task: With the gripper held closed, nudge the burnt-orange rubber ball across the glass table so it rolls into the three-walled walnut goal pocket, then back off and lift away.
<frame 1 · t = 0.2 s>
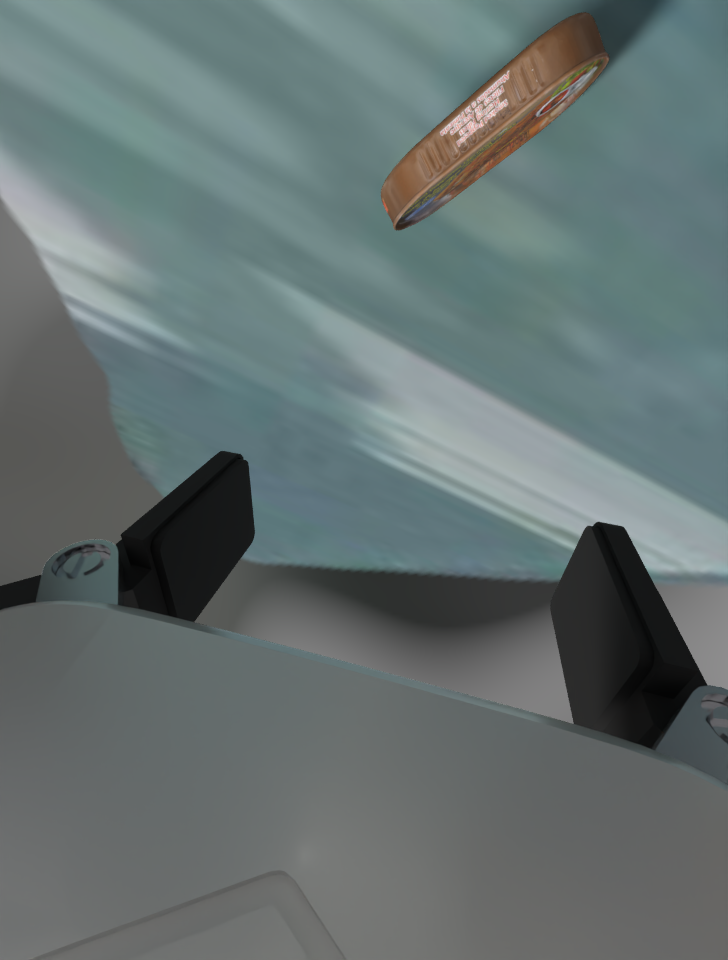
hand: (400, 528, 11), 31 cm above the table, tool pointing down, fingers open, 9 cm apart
tin: (479, 150, 30), on the table
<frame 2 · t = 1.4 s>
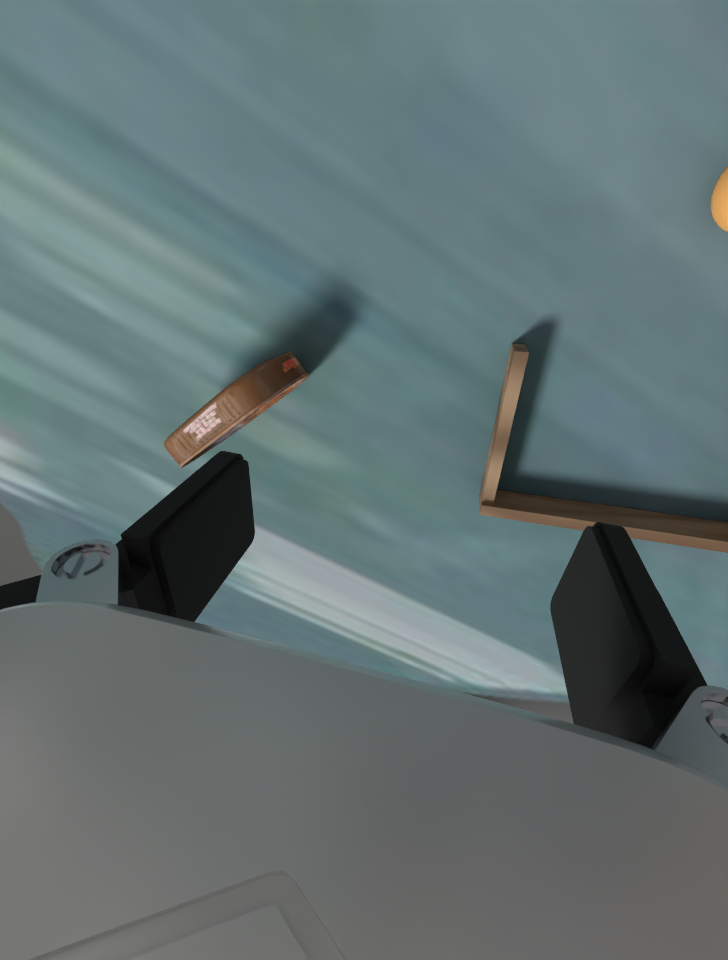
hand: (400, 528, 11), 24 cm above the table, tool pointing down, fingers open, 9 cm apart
goal pocket: (635, 444, 32), on the table
tin: (257, 395, 38), on the table
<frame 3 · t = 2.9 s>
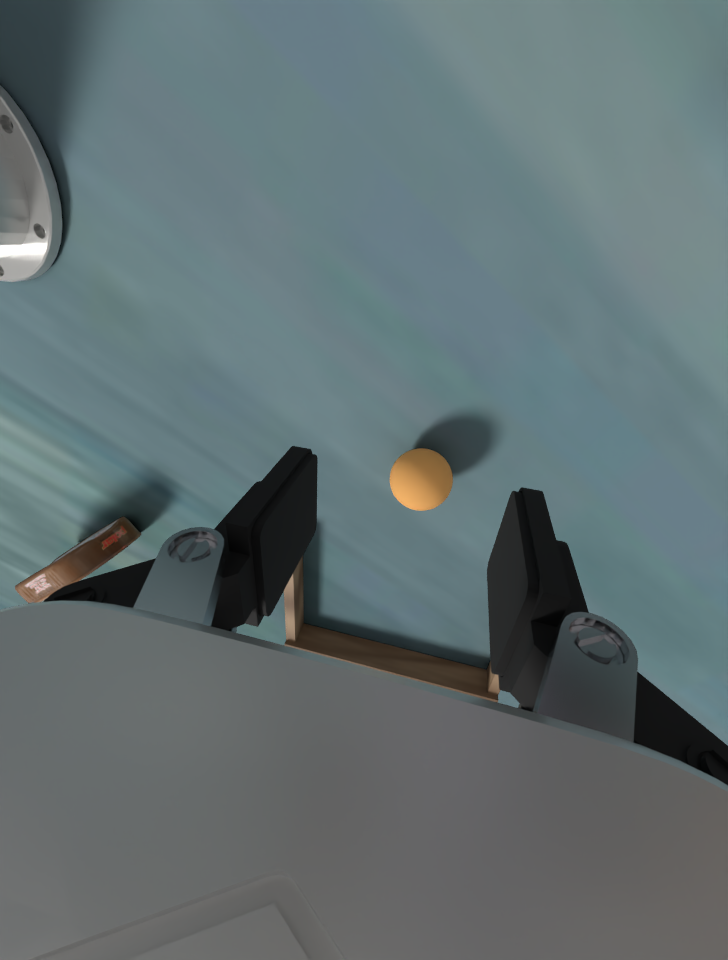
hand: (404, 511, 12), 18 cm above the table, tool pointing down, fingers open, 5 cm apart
goal pocket: (398, 608, 39), on the table
tin: (110, 534, 45), on the table
ball: (420, 479, 29), point 2 cm above the table
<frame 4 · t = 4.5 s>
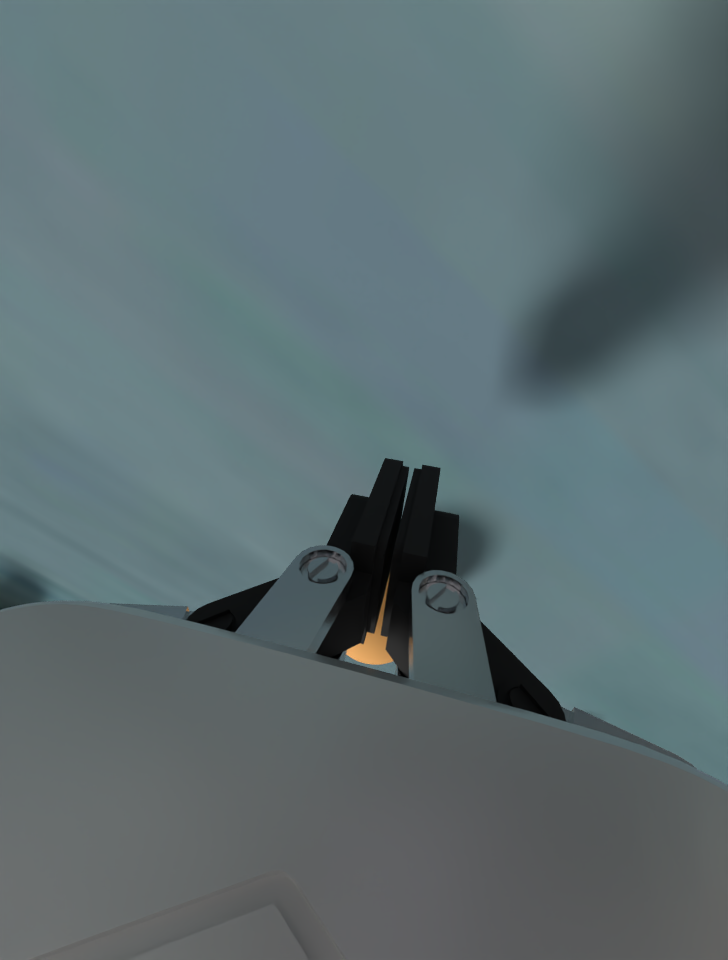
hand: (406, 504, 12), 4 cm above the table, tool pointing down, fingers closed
ball: (375, 610, 18), point 2 cm above the table
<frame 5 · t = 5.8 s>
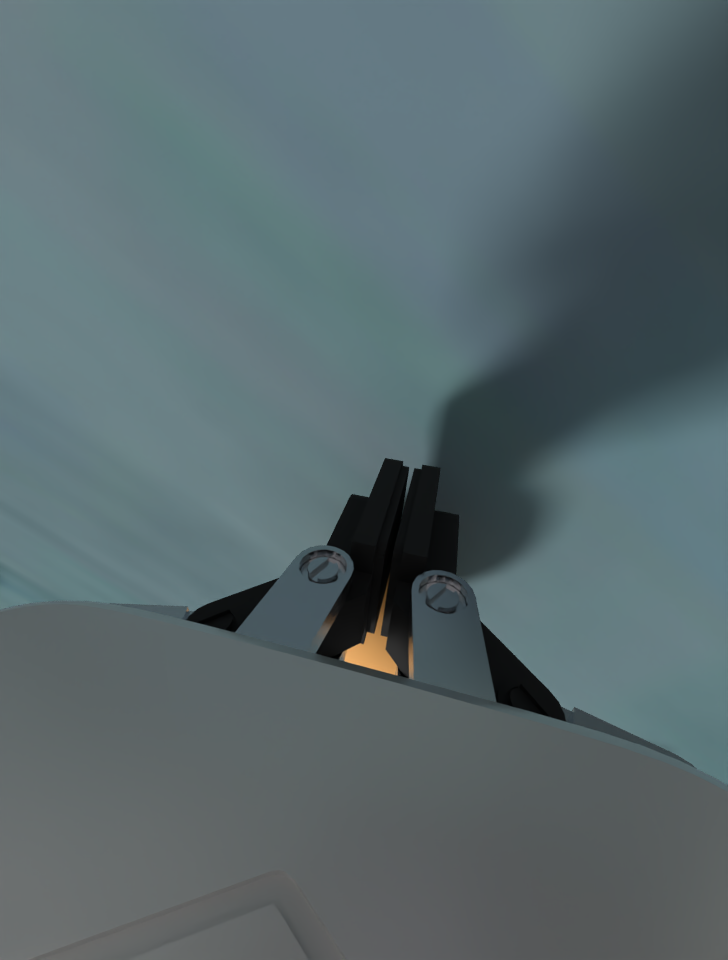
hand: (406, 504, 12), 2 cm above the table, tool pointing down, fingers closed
ball: (385, 603, 14), point 2 cm above the table, touching gripper
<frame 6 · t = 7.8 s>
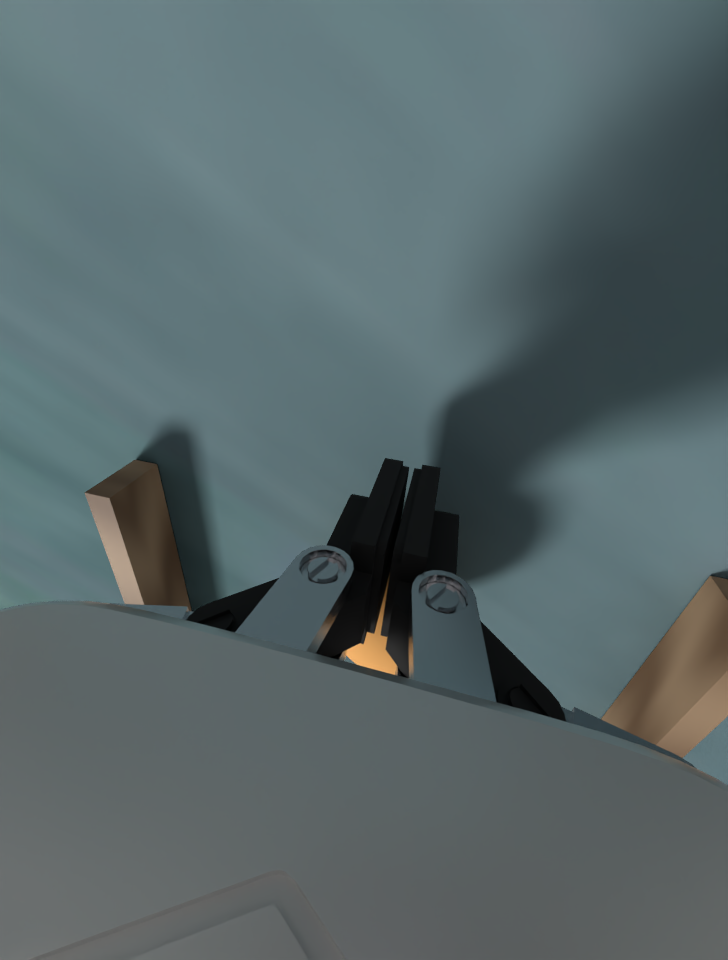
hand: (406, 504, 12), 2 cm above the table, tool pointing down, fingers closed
goal pocket: (383, 636, 18), on the table
ball: (392, 603, 14), point 2 cm above the table, tilted 109°, touching gripper
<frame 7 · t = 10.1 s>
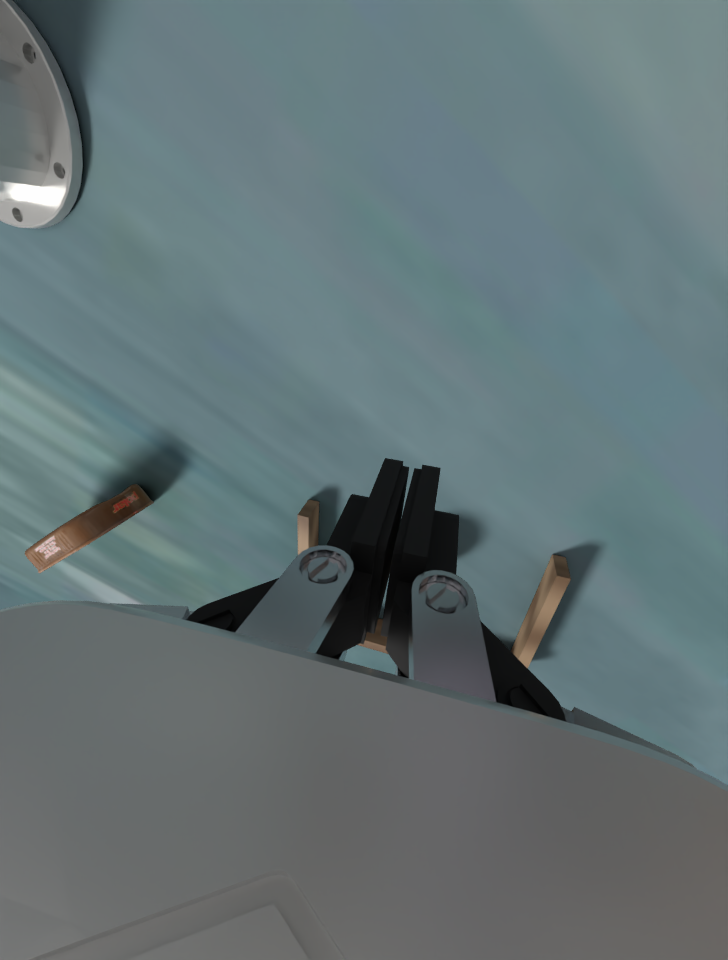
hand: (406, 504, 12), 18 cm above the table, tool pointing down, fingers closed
goal pocket: (417, 584, 38), on the table
tin: (122, 504, 44), on the table
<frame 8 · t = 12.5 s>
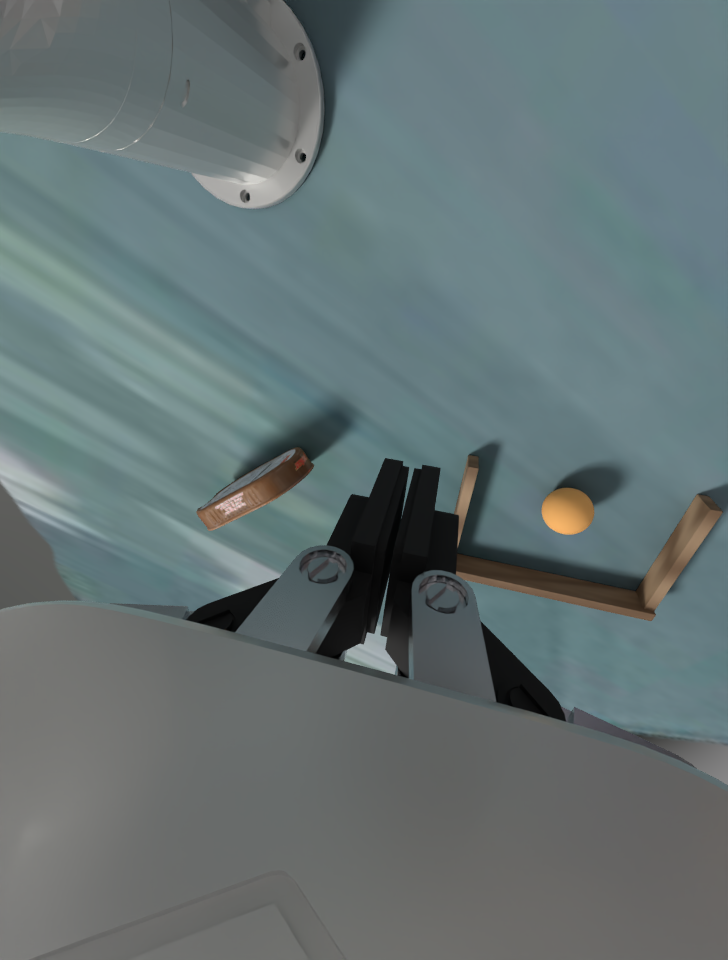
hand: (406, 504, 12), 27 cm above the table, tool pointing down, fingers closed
goal pocket: (559, 530, 42), on the table
tin: (270, 469, 47), on the table
ball: (567, 510, 38), point 2 cm above the table, tilted 122°
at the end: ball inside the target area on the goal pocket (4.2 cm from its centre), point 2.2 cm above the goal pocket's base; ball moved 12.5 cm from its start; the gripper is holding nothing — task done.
